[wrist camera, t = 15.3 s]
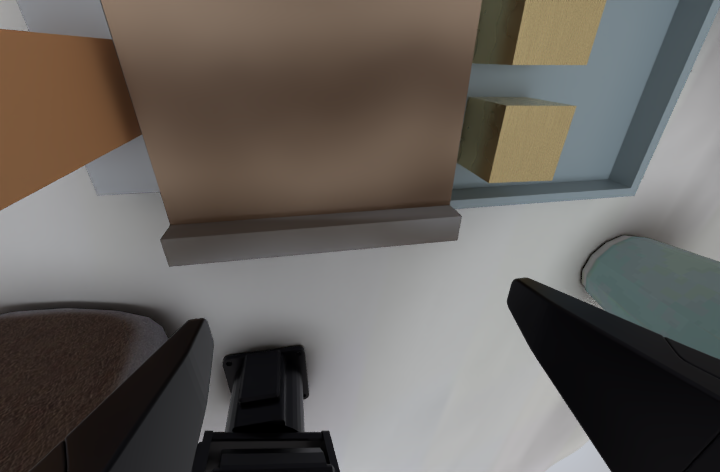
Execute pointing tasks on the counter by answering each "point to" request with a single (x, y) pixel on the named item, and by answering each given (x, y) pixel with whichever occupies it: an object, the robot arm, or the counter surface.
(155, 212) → the counter surface
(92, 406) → the dark brown rounded block
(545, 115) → the brass block
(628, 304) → the disposable coffee cup
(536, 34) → the brass block
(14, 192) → the brown and grey block
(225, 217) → the railed tan board
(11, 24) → the counter surface
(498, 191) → the slate tray
